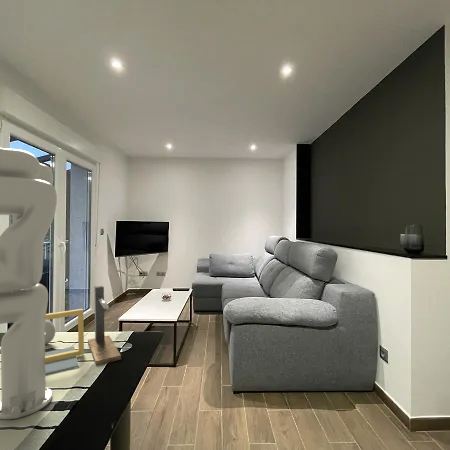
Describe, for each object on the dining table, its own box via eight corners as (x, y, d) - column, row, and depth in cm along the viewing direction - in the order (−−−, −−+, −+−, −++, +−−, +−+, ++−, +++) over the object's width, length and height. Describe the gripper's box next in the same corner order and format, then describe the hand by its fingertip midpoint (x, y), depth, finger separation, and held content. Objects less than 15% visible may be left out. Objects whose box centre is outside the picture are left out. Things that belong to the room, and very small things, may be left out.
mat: (78, 367, 97) (78, 365, 97) (35, 377, 91) (35, 375, 91) (74, 348, 112) (74, 346, 112) (36, 355, 106) (36, 354, 106)
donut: (57, 343, 117) (57, 318, 117) (50, 347, 114) (50, 321, 114) (37, 341, 120) (36, 316, 120) (29, 344, 116) (29, 319, 116)
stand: (120, 359, 102) (119, 294, 102) (95, 365, 98) (94, 297, 98) (109, 339, 121) (108, 284, 121) (87, 343, 117) (87, 286, 117)
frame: (83, 354, 105) (83, 309, 105) (37, 364, 98) (36, 316, 98) (83, 352, 107) (82, 308, 107) (37, 362, 99) (37, 315, 99)
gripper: (33, 205, 96) (34, 257, 96) (35, 208, 111) (36, 253, 111) (4, 204, 92) (5, 259, 92) (11, 207, 107) (11, 254, 107)
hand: (22, 256), depth 102 cm, fingers open, 9 cm apart
